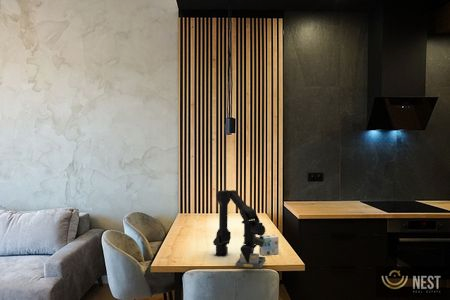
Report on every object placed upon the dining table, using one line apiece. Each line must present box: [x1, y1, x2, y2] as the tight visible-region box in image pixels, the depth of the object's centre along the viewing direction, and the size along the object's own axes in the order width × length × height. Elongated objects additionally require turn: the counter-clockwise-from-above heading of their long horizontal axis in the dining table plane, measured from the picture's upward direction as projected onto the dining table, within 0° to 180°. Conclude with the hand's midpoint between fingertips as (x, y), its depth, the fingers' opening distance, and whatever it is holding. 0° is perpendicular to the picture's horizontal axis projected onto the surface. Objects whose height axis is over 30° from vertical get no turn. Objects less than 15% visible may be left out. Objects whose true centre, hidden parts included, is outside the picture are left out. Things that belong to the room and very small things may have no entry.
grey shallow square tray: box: [235, 256, 266, 269], centre depth 206 cm, size 14×15×2 cm
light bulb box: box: [258, 234, 280, 256], centre depth 226 cm, size 11×7×11 cm, turn 103°
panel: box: [239, 251, 260, 264], centre depth 203 cm, size 10×4×6 cm, turn 74°
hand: (249, 260), depth 203 cm, fingers open, 9 cm apart
